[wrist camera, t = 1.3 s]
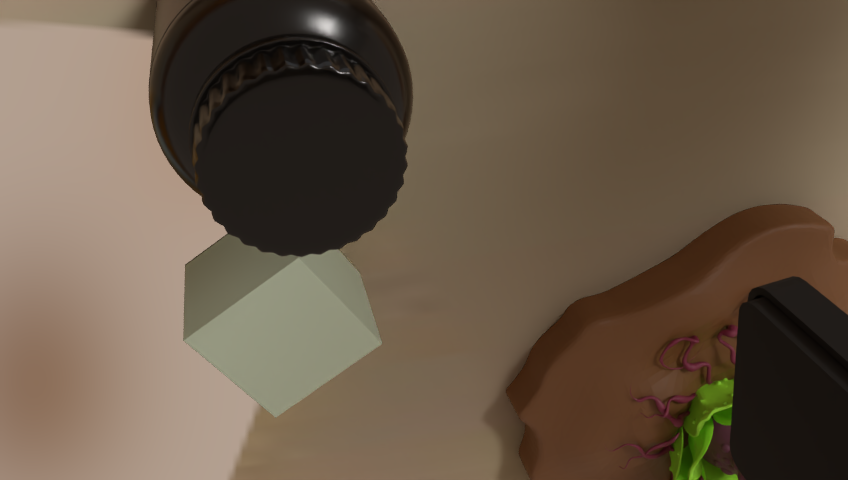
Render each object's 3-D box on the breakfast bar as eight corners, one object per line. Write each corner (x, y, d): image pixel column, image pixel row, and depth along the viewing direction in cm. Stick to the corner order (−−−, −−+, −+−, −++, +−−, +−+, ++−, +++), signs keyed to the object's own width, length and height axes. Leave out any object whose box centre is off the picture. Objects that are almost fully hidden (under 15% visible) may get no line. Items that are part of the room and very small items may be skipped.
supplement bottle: (157, 106, 28) (137, 295, 18) (156, -101, 25) (131, -9, 15) (349, 118, 30) (425, 294, 20) (372, -73, 27) (475, 24, 17)
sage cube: (285, 191, 31) (299, 257, 27) (359, 272, 34) (382, 343, 30) (185, 264, 32) (183, 340, 28) (266, 338, 34) (275, 417, 30)
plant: (586, 563, 49) (678, 754, 39) (458, 357, 38) (544, 552, 29) (882, 408, 48) (1048, 565, 39) (838, 152, 37) (1053, 285, 28)
